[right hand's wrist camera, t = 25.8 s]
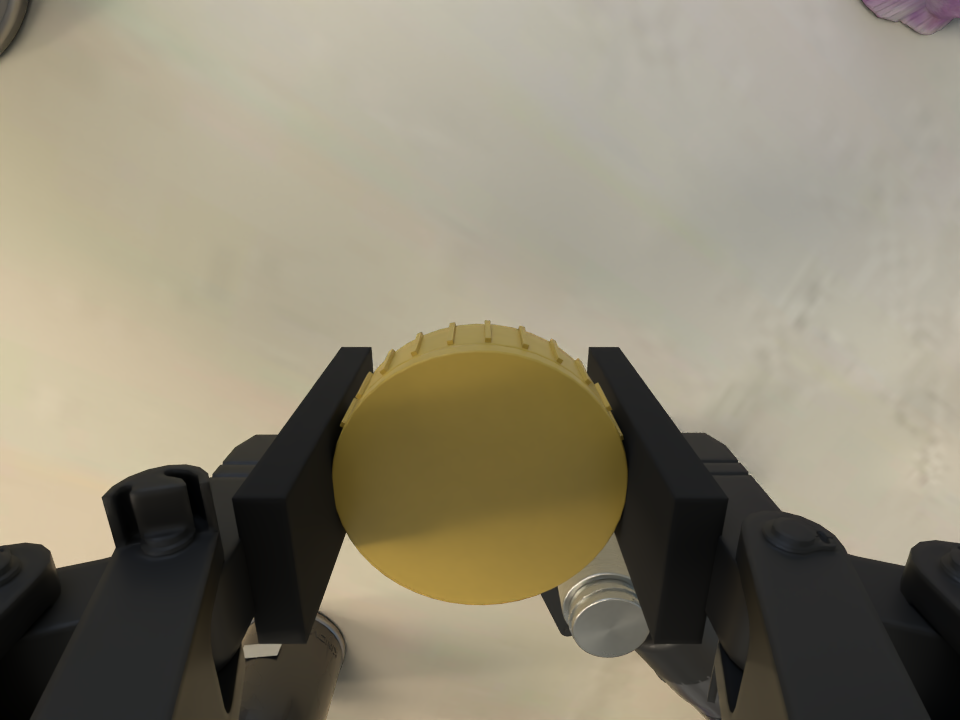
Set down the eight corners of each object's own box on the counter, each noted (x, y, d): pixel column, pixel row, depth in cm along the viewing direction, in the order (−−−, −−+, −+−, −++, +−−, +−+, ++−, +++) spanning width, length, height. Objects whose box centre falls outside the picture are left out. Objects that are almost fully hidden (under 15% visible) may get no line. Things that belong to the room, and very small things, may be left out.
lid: (657, 483, 12) (683, 530, 11) (440, 590, 13) (435, 648, 12) (529, 265, 10) (538, 283, 9) (292, 407, 11) (263, 446, 10)
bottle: (566, 492, 44) (613, 675, 29) (523, 462, 43) (547, 635, 28) (604, 453, 43) (675, 623, 27) (561, 421, 42) (609, 578, 26)
